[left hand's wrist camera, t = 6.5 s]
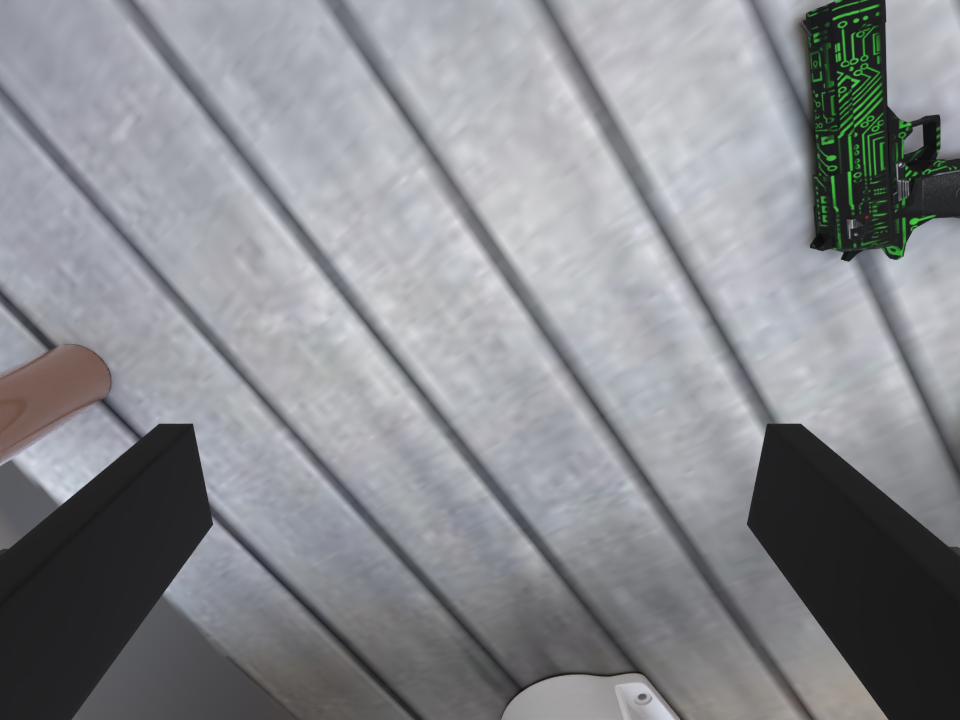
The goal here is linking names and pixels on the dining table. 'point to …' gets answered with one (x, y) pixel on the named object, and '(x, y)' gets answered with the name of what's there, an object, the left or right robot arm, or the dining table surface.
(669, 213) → the dining table surface
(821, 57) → the handgun
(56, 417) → the jar
